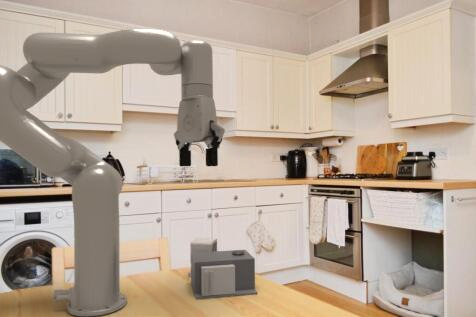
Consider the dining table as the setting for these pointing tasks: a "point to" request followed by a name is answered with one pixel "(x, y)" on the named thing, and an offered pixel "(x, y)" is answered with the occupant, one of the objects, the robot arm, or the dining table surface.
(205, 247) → the white rounded housing
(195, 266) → the camera case
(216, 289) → the door
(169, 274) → the dining table surface
